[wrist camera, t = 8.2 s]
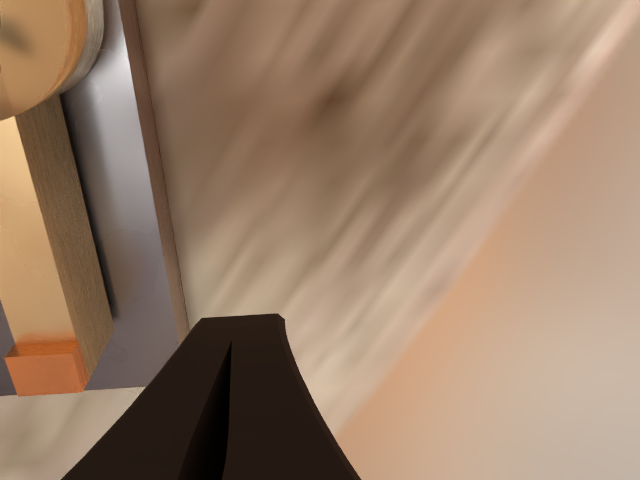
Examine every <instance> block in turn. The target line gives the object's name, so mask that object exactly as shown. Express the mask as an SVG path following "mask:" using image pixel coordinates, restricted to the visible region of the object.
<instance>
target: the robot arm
mask: <svg viewBox="0 0 640 480" xmlns="http://www.w3.org/2000/svg"><path fill="white" fill-rule="evenodd" d="M61 480H361V479H360V477H359V476H358V474H357V473H356V471H355V470H354V468H353V467H352V465H351V464H350V462H349V461H348V460H347V458H346V456H345V455H344V453H343V451H342V450H341V448H340V447H339V446H338V443H337V442H336V440H335V438H334V437H333V435H332V433H331V431H330V430H329V428H328V426H327V425H326V423H325V421H324V419H323V418H322V416H321V414H320V412H319V410H318V408H317V407H316V405H315V403H314V401H313V399H312V397H311V395H310V393H309V390H308V388H307V386H306V384H305V382H304V380H303V378H302V376H301V374H300V371H299V369H298V367H297V364H296V362H295V359H294V357H293V354H292V351H291V348H290V345H289V342H288V339H287V335H286V330H285V319H284V318H282V317H281V316H280V315H279V314H261V315H245V316H228V317H212V318H201V319H200V321H199V322H198V323H197V324H196V325H195V326H194V327H193V329H192V330H191V331H190V332H189V334H188V335H187V336H186V338H185V339H184V340H183V342H182V343H181V344H180V346H179V347H178V348H177V350H176V351H175V352H174V353H173V355H172V356H171V357H170V358H169V360H168V361H167V362H166V364H165V365H164V366H163V367H162V369H161V370H160V371H159V372H158V374H157V375H156V376H155V377H154V378H153V380H152V381H151V382H150V383H149V384H148V386H147V387H146V388H145V389H144V390H143V391H142V393H141V394H140V395H139V396H138V397H137V399H136V400H135V401H134V402H133V403H132V405H131V406H130V407H129V408H128V409H127V410H126V412H125V413H124V414H123V415H122V416H121V417H120V418H119V419H118V420H117V421H116V423H115V424H114V425H113V426H112V427H111V428H110V429H109V430H108V431H107V432H106V433H105V434H104V435H103V436H102V438H101V439H100V440H99V441H98V442H97V443H96V444H95V445H94V446H93V447H92V448H91V449H90V450H89V452H88V453H87V454H86V455H85V456H84V457H83V458H82V459H81V460H80V461H79V462H78V463H77V464H76V465H75V466H74V467H73V468H72V469H71V470H70V471H69V472H68V473H67V474H66V475H65V476H64V477H63V478H62V479H61Z"/></svg>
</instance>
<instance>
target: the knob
mask: <svg viewBox="0 0 640 480" xmlns="http://www.w3.org/2000/svg"><path fill="white" fill-rule="evenodd" d="M103 32H104V9H103V1H102V0H0V300H1V303H2V306H3V309H4V312H5V315H6V318H7V321H8V324H9V327H10V330H11V333H12V336H13V338H14V341H15V344H16V345H13V347H12V348H11V349H10V351H9V352H8V353H7V355H6V356H5V357H4V359H5V361H6V364H7V367H8V370H9V373H10V375H11V378H12V381H13V384H14V387H15V390H16V392H17V395H18V396H31V395H46V394H62V393H77V392H83V390H84V388H85V386H86V384H87V382H88V381H89V379H90V377H91V375H92V373H93V371H94V369H95V367H96V365H97V363H98V361H99V359H100V357H101V355H102V353H103V351H104V349H105V347H106V345H107V343H108V341H109V339H110V337H111V335H112V333H113V331H114V325H113V321H112V316H111V312H110V308H109V304H108V300H107V295H106V291H105V287H104V283H103V279H102V274H101V270H100V266H99V262H98V258H97V253H96V249H95V245H94V241H93V236H92V232H91V228H90V224H89V220H88V215H87V211H86V207H85V203H84V199H83V194H82V190H81V186H80V182H79V178H78V173H77V169H76V165H75V161H74V157H73V152H72V148H71V144H70V140H69V136H68V131H67V127H66V123H65V119H64V115H63V110H62V106H61V102H60V98H59V94H61V93H63V92H65V91H67V90H68V89H70V88H72V87H73V86H75V85H76V84H77V83H78V82H79V81H80V80H82V78H83V77H84V76H85V75H86V74H87V73H88V72H89V70H90V68H91V67H92V65H93V64H94V62H95V60H96V58H97V55H98V53H99V51H100V47H101V43H102V40H103Z"/></svg>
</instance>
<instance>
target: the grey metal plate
mask: <svg viewBox="0 0 640 480" xmlns="http://www.w3.org/2000/svg"><path fill="white" fill-rule="evenodd" d="M102 1H103V9H104V32H103V40H102V43H101V47H100V51H99V53H98V55H97V58H96V60H95V62H94V64H93V65H92V67H91V68H90V70H89V72H88V73H87V74H86V75H85V76H84V77H83V78H82V80H80V81H79V82H78V83H77V84H76V85H75V86H73V87H72V88H70V89H68V90H67V91H65V92H63V93H61V94H59V98H60V102H61V106H62V110H63V115H64V119H65V123H66V127H67V131H68V136H69V140H70V144H71V148H72V152H73V157H74V161H75V165H76V169H77V173H78V178H79V182H80V186H81V190H82V194H83V199H84V203H85V207H86V211H87V215H88V220H89V224H90V228H91V232H92V236H93V241H94V245H95V249H96V253H97V258H98V262H99V266H100V270H101V274H102V279H103V283H104V287H105V291H106V295H107V300H108V304H109V308H110V312H111V316H112V321H113V325H114V331H113V333H112V335H111V337H110V339H109V341H108V343H107V345H106V347H105V349H104V351H103V353H102V355H101V357H100V359H99V361H98V363H97V365H96V367H95V369H94V371H93V373H92V375H91V377H90V379H89V381H88V382H87V384H86V386H85V388H84V390H99V389H114V388H130V387H145V386H148V384H149V383H150V382H151V381H152V380H153V378H154V377H155V376H156V375H157V374H158V372H159V371H160V370H161V369H162V367H163V366H164V365H165V364H166V362H167V361H168V360H169V358H170V357H171V356H172V355H173V353H174V352H175V351H176V350H177V348H178V347H179V346H180V344H181V343H182V342H183V340H184V339H185V338H186V336H187V335H188V334H189V326H188V320H187V314H186V308H185V302H184V296H183V290H182V284H181V278H180V272H179V266H178V260H177V254H176V248H175V242H174V236H173V230H172V224H171V218H170V212H169V206H168V200H167V194H166V187H165V181H164V175H163V169H162V163H161V157H160V151H159V145H158V139H157V133H156V127H155V121H154V115H153V109H152V103H151V97H150V91H149V85H148V79H147V73H146V67H145V61H144V55H143V49H142V43H141V37H140V31H139V25H138V19H137V13H136V7H135V1H134V0H102ZM13 345H16V344H15V341H14V338H13V336H12V333H11V330H10V327H9V324H8V321H7V318H6V315H5V312H4V309H3V306H2V303H1V300H0V396H6V395H17V392H16V390H15V387H14V384H13V381H12V378H11V375H10V373H9V370H8V367H7V364H6V361H5V359H4V357H5V356H6V355H7V353H8V352H9V351H10V349H11V348H12V347H13Z"/></svg>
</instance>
